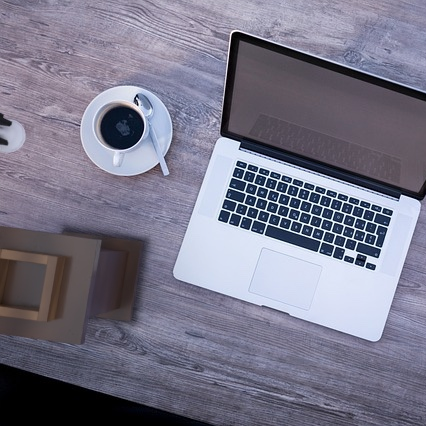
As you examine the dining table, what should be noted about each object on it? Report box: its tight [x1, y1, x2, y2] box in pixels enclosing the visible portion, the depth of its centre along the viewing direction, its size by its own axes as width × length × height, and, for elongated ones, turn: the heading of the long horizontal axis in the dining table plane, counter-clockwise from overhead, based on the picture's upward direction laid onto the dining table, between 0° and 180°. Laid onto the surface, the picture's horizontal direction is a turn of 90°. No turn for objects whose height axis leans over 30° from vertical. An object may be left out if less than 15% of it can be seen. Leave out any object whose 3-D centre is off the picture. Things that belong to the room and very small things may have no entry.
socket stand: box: [0, 225, 102, 346], centre depth 76 cm, size 16×14×4 cm
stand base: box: [61, 230, 145, 323], centre depth 90 cm, size 14×14×24 cm
